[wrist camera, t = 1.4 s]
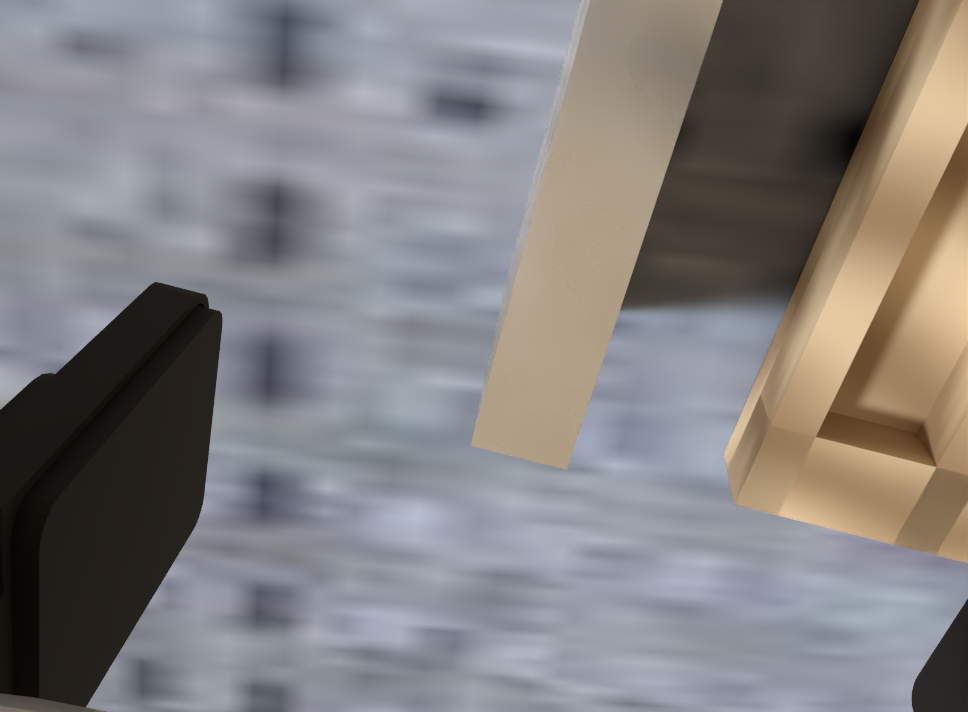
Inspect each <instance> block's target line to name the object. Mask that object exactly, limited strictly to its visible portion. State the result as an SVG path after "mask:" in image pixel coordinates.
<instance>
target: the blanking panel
mask: <svg viewBox="0 0 968 712" xmlns="http://www.w3.org/2000/svg"><path fill="white" fill-rule="evenodd" d="M722 2H723V0H580V2H579V6H578V10H577V13H576V17H575V21H574V25H573V29H572V32H571V36H570V40H569V44H568V48H567V51H566V55H565V59H564V63H563V67H562V70H561V74H560V78H559V82H558V86H557V89H556V93H555V97H554V101H553V105H552V109H551V112H550V116H549V120H548V124H547V128H546V131H545V135H544V139H543V143H542V147H541V150H540V154H539V158H538V162H537V166H536V169H535V173H534V177H533V181H532V185H531V188H530V192H529V196H528V200H527V204H526V207H525V211H524V215H523V219H522V223H521V227H520V230H519V234H518V238H517V242H516V246H515V249H514V253H513V257H512V261H511V265H510V268H509V272H508V276H507V280H506V284H505V287H504V291H503V295H502V300H501V305H500V309H499V314H498V319H497V324H496V329H495V333H494V338H493V343H492V348H491V352H490V357H489V362H488V367H487V371H486V376H485V381H484V386H483V390H482V395H481V400H480V405H479V409H478V414H477V419H476V424H475V428H474V433H473V438H472V443H471V446H474V447H478V448H482V449H486V450H490V451H494V452H498V453H502V454H506V455H510V456H513V457H517V458H521V459H525V460H529V461H533V462H537V463H541V464H545V465H549V466H553V467H557V468H561V469H565V470H567V467H568V464H569V461H570V458H571V455H572V452H573V449H574V446H575V443H576V440H577V437H578V434H579V431H580V428H581V425H582V422H583V419H584V416H585V413H586V410H587V407H588V404H589V401H590V398H591V395H592V392H593V389H594V386H595V383H596V380H597V377H598V374H599V371H600V368H601V365H602V362H603V359H604V356H605V353H606V350H607V347H608V344H609V341H610V338H611V335H612V332H613V329H614V326H615V323H616V320H617V317H618V314H619V311H620V308H621V305H622V302H623V299H624V296H625V293H626V290H627V287H628V284H629V281H630V278H631V275H632V272H633V269H634V266H635V263H636V260H637V257H638V254H639V251H640V248H641V245H642V242H643V239H644V236H645V233H646V230H647V227H648V224H649V221H650V218H651V215H652V212H653V209H654V206H655V203H656V200H657V197H658V194H659V191H660V188H661V185H662V182H663V179H664V176H665V173H666V170H667V167H668V164H669V161H670V158H671V155H672V152H673V149H674V146H675V143H676V140H677V137H678V134H679V131H680V128H681V125H682V122H683V119H684V116H685V113H686V110H687V107H688V104H689V101H690V98H691V95H692V92H693V89H694V86H695V83H696V80H697V77H698V74H699V71H700V68H701V65H702V62H703V59H704V56H705V53H706V50H707V47H708V44H709V41H710V38H711V35H712V32H713V29H714V26H715V23H716V20H717V17H718V14H719V11H720V8H721V5H722Z"/></svg>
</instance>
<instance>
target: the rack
mask: <svg viewBox="0 0 968 712" xmlns="http://www.w3.org/2000/svg"><path fill="white" fill-rule="evenodd" d="M724 459H725V463H726V468H727V472H728V477H729V481H730V486H731V490H732V495H733V499H734V504H735V505H738V506H742V507H746V508H750V509H754V510H758V511H762V512H766V513H770V514H774V515H778V516H782V517H786V518H790V519H794V520H798V521H802V522H806V523H810V524H814V525H818V526H822V527H826V528H830V529H834V530H838V531H842V532H846V533H850V534H854V535H858V536H862V537H866V538H870V539H874V540H878V541H882V542H886V543H890V544H894V545H898V546H902V547H906V548H910V549H914V550H918V551H922V552H926V553H930V554H934V555H938V556H942V557H946V558H950V559H954V560H957V561H961V562H965V563H968V0H919V2H918V4H917V7H916V9H915V11H914V14H913V16H912V18H911V21H910V23H909V25H908V28H907V30H906V32H905V35H904V37H903V39H902V41H901V44H900V46H899V48H898V51H897V53H896V55H895V58H894V60H893V62H892V65H891V67H890V69H889V72H888V74H887V76H886V79H885V81H884V83H883V86H882V88H881V90H880V93H879V95H878V97H877V100H876V102H875V104H874V107H873V109H872V111H871V113H870V116H869V118H868V120H867V123H866V125H865V127H864V130H863V132H862V134H861V137H860V139H859V141H858V144H857V146H856V148H855V151H854V153H853V155H852V158H851V160H850V162H849V165H848V167H847V169H846V172H845V174H844V176H843V178H842V181H841V183H840V185H839V188H838V190H837V192H836V195H835V197H834V199H833V202H832V204H831V206H830V209H829V211H828V213H827V216H826V218H825V220H824V223H823V225H822V227H821V230H820V232H819V234H818V237H817V239H816V241H815V244H814V246H813V248H812V250H811V253H810V255H809V257H808V260H807V262H806V264H805V267H804V269H803V271H802V274H801V276H800V278H799V281H798V283H797V285H796V288H795V290H794V292H793V295H792V297H791V299H790V302H789V304H788V306H787V309H786V311H785V313H784V316H783V318H782V320H781V322H780V325H779V327H778V329H777V332H776V334H775V336H774V339H773V341H772V343H771V346H770V348H769V350H768V353H767V355H766V357H765V360H764V362H763V364H762V367H761V369H760V371H759V374H758V376H757V378H756V381H755V383H754V385H753V387H752V390H751V392H750V394H749V397H748V399H747V401H746V404H745V406H744V408H743V411H742V413H741V415H740V418H739V420H738V422H737V425H736V427H735V429H734V432H733V434H732V436H731V439H730V441H729V443H728V446H727V448H726V450H725V453H724Z"/></svg>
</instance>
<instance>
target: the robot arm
mask: <svg viewBox="0 0 968 712" xmlns="http://www.w3.org/2000/svg"><path fill="white" fill-rule="evenodd" d="M221 332H222V314H221V312H220V311H217V310H213V309H209V303H208V298H207V296H206V295H205V294H201V293H197V292H194V291H190V290H186V289H182V288H178V287H174V286H170V285H166V284H162V283H158V282H155V283H153V284H151V285H150V286H149V287H148V288H147V289H146V290H145V291H144V292H142V293H141V294H140V295H139V296H138V297H137V298H136V299H135V300H134V301H133V302H132V303H131V304H130V305H129V306H128V307H126V308H125V309H124V310H123V311H122V312H121V313H120V314H119V315H118V316H117V317H116V318H115V319H114V320H113V321H112V322H111V323H109V324H108V325H107V326H106V327H105V328H104V329H103V330H102V331H101V332H100V333H99V334H98V335H97V336H96V337H95V338H93V339H92V340H91V341H90V342H89V343H88V344H87V345H86V346H85V347H84V348H83V349H82V350H81V351H80V352H79V353H78V354H76V355H75V356H74V357H73V358H72V359H71V360H70V361H69V362H68V363H67V364H66V365H65V366H64V367H63V368H62V369H60V370H59V371H58V372H57V373H56V374H52V373H48V374H42V375H40V376H39V377H37V378H36V379H34V380H33V381H32V382H30V383H29V384H28V385H27V386H26V387H25V388H24V389H23V390H22V391H21V392H20V393H18V394H17V395H16V396H15V397H14V398H13V399H12V400H11V401H10V402H9V403H7V404H6V405H5V406H4V407H3V408H2V409H1V410H0V712H106V711H101V710H96V709H91V708H86V706H87V704H88V703H89V701H90V699H91V698H92V696H93V694H94V693H95V691H96V690H97V688H98V686H99V685H100V683H101V681H102V680H103V678H104V676H105V675H106V673H107V671H108V670H109V668H110V666H111V665H112V663H113V661H114V660H115V658H116V656H117V655H118V653H119V652H120V650H121V648H122V647H123V645H124V643H125V642H126V640H127V638H128V637H129V635H130V633H131V632H132V630H133V628H134V627H135V625H136V623H137V622H138V620H139V619H140V617H141V615H142V614H143V612H144V610H145V609H146V607H147V605H148V604H149V602H150V600H151V599H152V597H153V595H154V594H155V592H156V590H157V589H158V587H159V586H160V584H161V582H162V581H163V579H164V577H165V576H166V574H167V572H168V571H169V569H170V567H171V566H172V564H173V562H174V561H175V559H176V557H177V556H178V554H179V552H180V551H181V549H182V548H183V546H184V544H185V543H186V541H187V539H188V538H189V536H190V534H191V533H192V531H193V529H194V527H195V525H196V523H197V520H198V518H199V515H200V512H201V508H202V504H203V499H204V491H205V482H206V472H207V463H208V454H209V444H210V435H211V426H212V416H213V407H214V397H215V388H216V379H217V369H218V360H219V351H220V341H221ZM912 707H913V711H914V712H968V599H967V601H966V602H965V604H964V606H963V607H962V609H961V610H960V612H959V613H958V615H957V616H956V618H955V619H954V621H953V622H952V624H951V626H950V627H949V629H948V630H947V632H946V633H945V635H944V636H943V638H942V639H941V641H940V643H939V644H938V646H937V647H936V649H935V650H934V652H933V653H932V655H931V656H930V658H929V659H928V661H927V663H926V664H925V666H924V667H923V669H922V670H921V672H920V673H919V675H918V676H917V678H916V680H915V683H914V686H913V690H912Z"/></svg>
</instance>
